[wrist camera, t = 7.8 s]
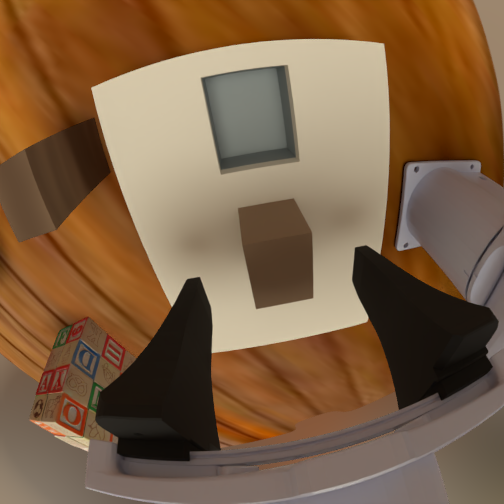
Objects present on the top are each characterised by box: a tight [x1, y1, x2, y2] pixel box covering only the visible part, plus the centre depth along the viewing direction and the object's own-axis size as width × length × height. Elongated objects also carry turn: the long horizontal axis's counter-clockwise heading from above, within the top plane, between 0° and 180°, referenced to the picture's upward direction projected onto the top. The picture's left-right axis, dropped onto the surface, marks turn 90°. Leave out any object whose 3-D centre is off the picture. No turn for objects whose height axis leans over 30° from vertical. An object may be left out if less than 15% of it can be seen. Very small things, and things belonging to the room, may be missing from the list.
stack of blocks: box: [29, 317, 137, 451], centre depth 25 cm, size 21×6×12 cm, turn 25°
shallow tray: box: [202, 66, 296, 170], centre depth 17 cm, size 14×20×3 cm
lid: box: [92, 39, 390, 353], centre depth 14 cm, size 15×21×4 cm
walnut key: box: [0, 118, 110, 242], centre depth 12 cm, size 3×4×8 cm
